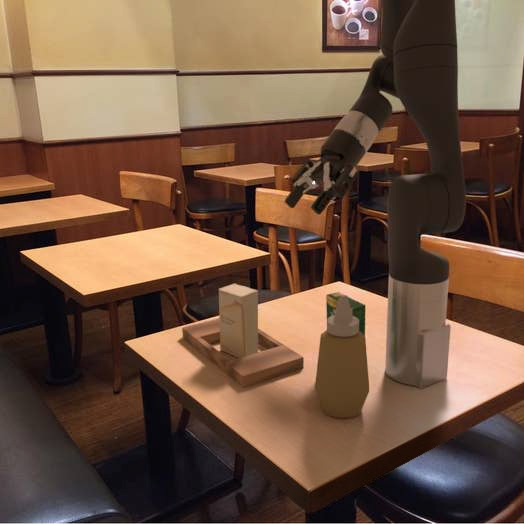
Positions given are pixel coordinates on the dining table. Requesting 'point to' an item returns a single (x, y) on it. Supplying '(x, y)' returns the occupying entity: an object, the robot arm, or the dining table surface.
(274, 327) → the dining table surface
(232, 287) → the skincare box
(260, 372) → the wooden frame
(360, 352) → the squeeze bottle
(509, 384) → the dining table surface
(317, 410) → the dining table surface
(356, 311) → the coffee box
